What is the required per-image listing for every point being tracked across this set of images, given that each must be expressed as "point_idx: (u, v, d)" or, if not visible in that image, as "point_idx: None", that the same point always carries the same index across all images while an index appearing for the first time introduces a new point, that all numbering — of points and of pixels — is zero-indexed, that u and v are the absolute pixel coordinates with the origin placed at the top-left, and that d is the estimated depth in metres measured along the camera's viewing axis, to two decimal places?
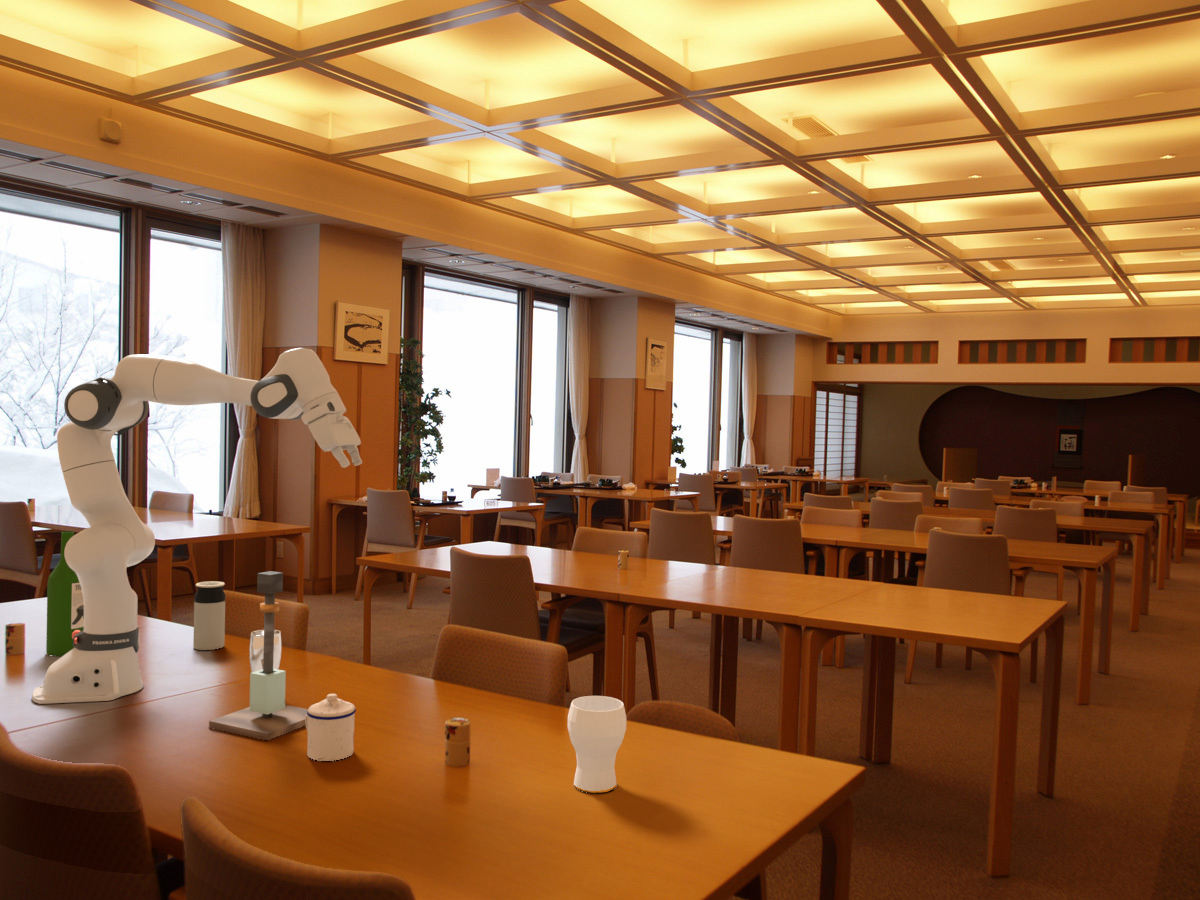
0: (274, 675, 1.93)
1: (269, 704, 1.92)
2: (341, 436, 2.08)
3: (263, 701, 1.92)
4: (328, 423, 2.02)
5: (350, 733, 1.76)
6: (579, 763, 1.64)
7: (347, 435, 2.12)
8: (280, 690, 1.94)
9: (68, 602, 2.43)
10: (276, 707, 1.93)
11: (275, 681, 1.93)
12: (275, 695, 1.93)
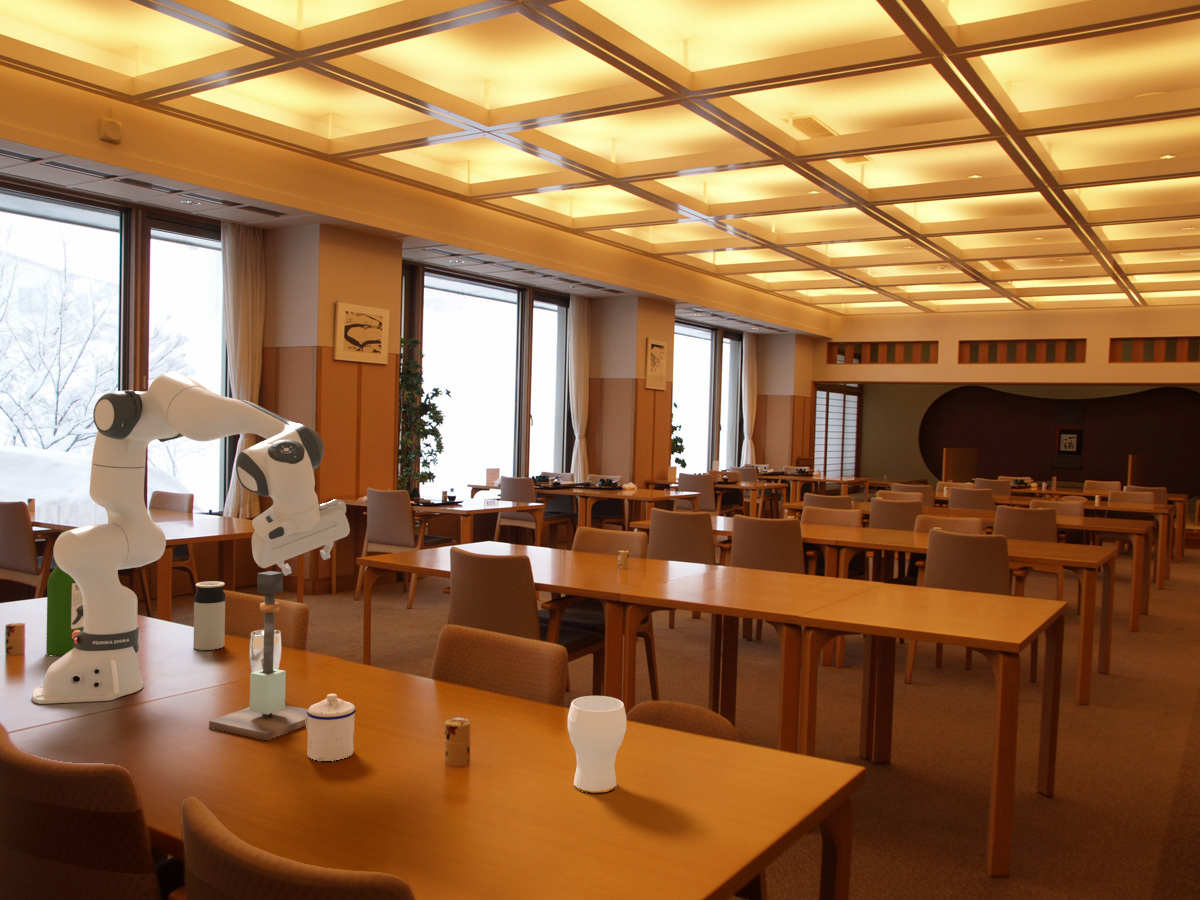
0: (274, 675, 1.93)
1: (269, 704, 1.92)
2: (289, 551, 1.91)
3: (263, 701, 1.92)
4: (259, 551, 1.86)
5: (350, 733, 1.76)
6: (579, 763, 1.64)
7: (308, 543, 1.93)
8: (280, 690, 1.94)
9: (68, 602, 2.43)
10: (276, 707, 1.93)
11: (275, 681, 1.93)
12: (275, 695, 1.93)
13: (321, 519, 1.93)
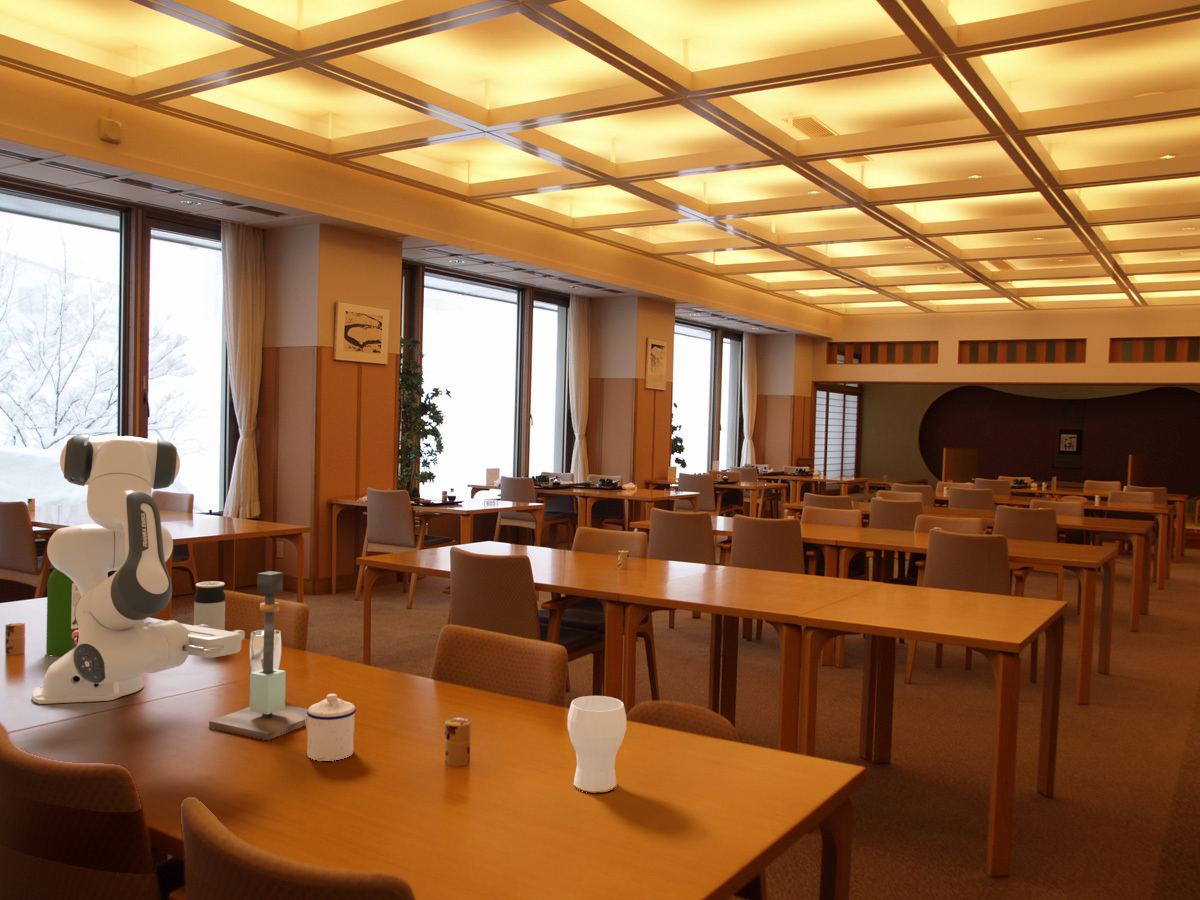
0: (274, 675, 1.93)
1: (269, 704, 1.92)
2: None
3: (263, 701, 1.92)
4: None
5: (350, 733, 1.76)
6: (579, 763, 1.64)
7: None
8: (280, 690, 1.94)
9: (68, 602, 2.43)
10: (276, 707, 1.93)
11: (275, 681, 1.93)
12: (275, 695, 1.93)
13: (191, 654, 1.71)
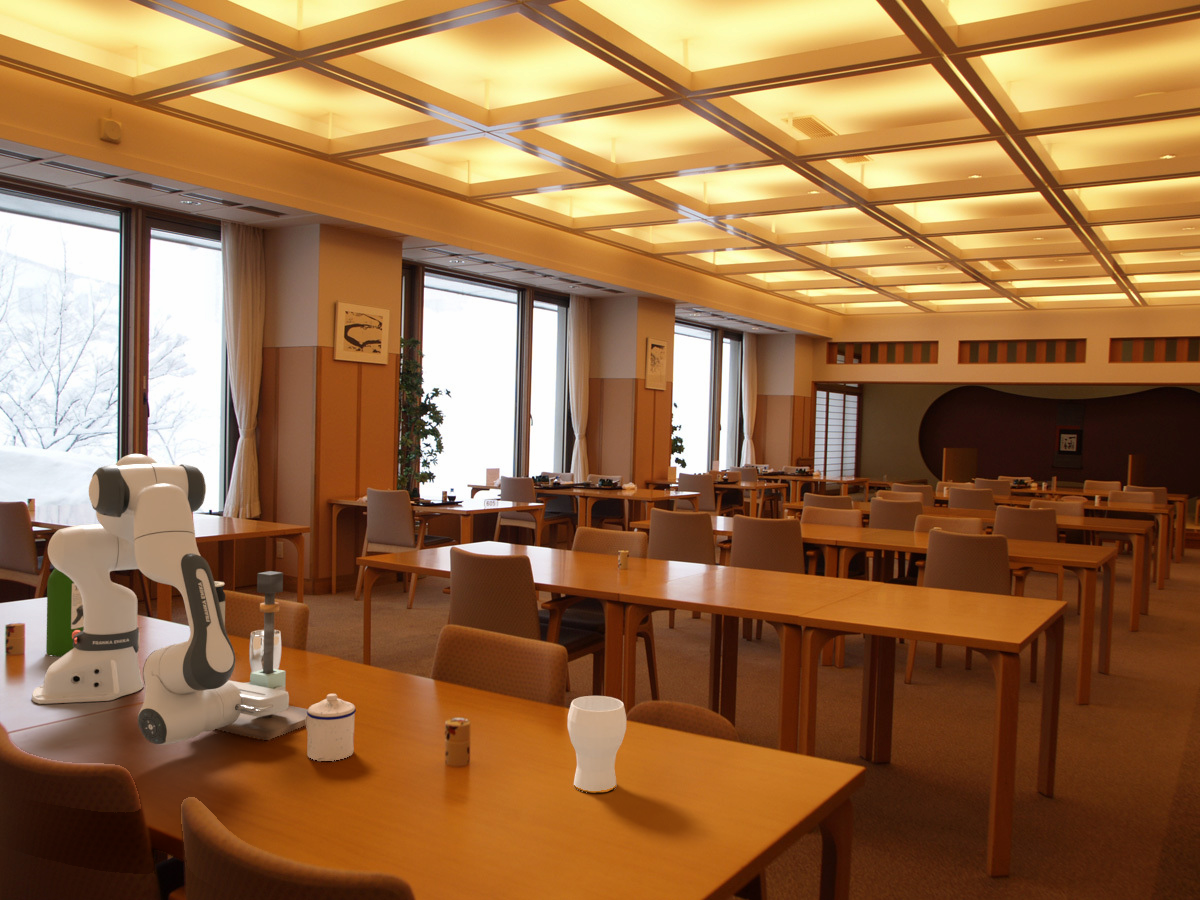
0: (274, 675, 1.93)
1: None
2: None
3: None
4: None
5: (350, 733, 1.76)
6: (579, 763, 1.64)
7: None
8: None
9: (68, 602, 2.43)
10: None
11: (275, 681, 1.93)
12: None
13: None
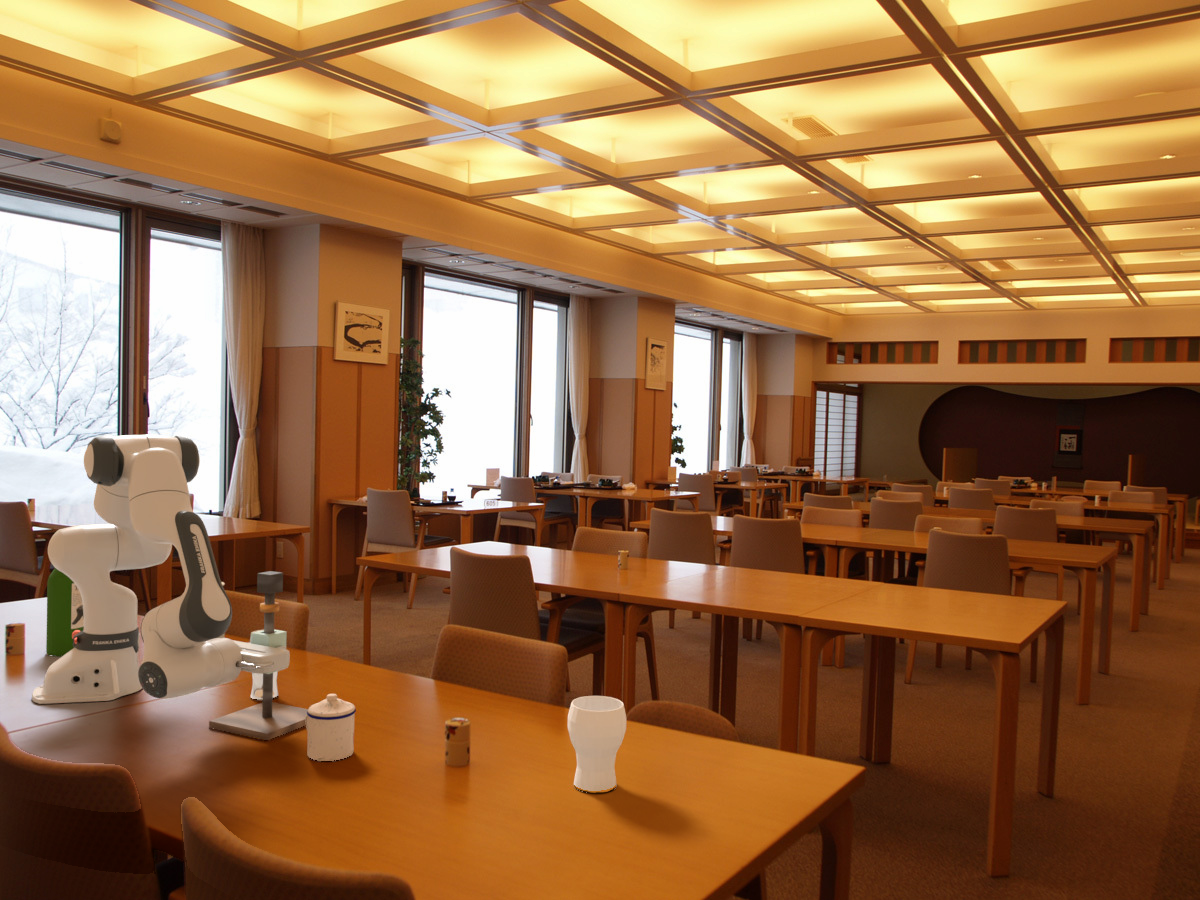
0: (275, 635, 1.92)
1: None
2: None
3: None
4: None
5: (350, 733, 1.76)
6: (579, 763, 1.64)
7: None
8: None
9: (68, 602, 2.43)
10: None
11: (276, 641, 1.93)
12: None
13: (243, 670, 1.83)
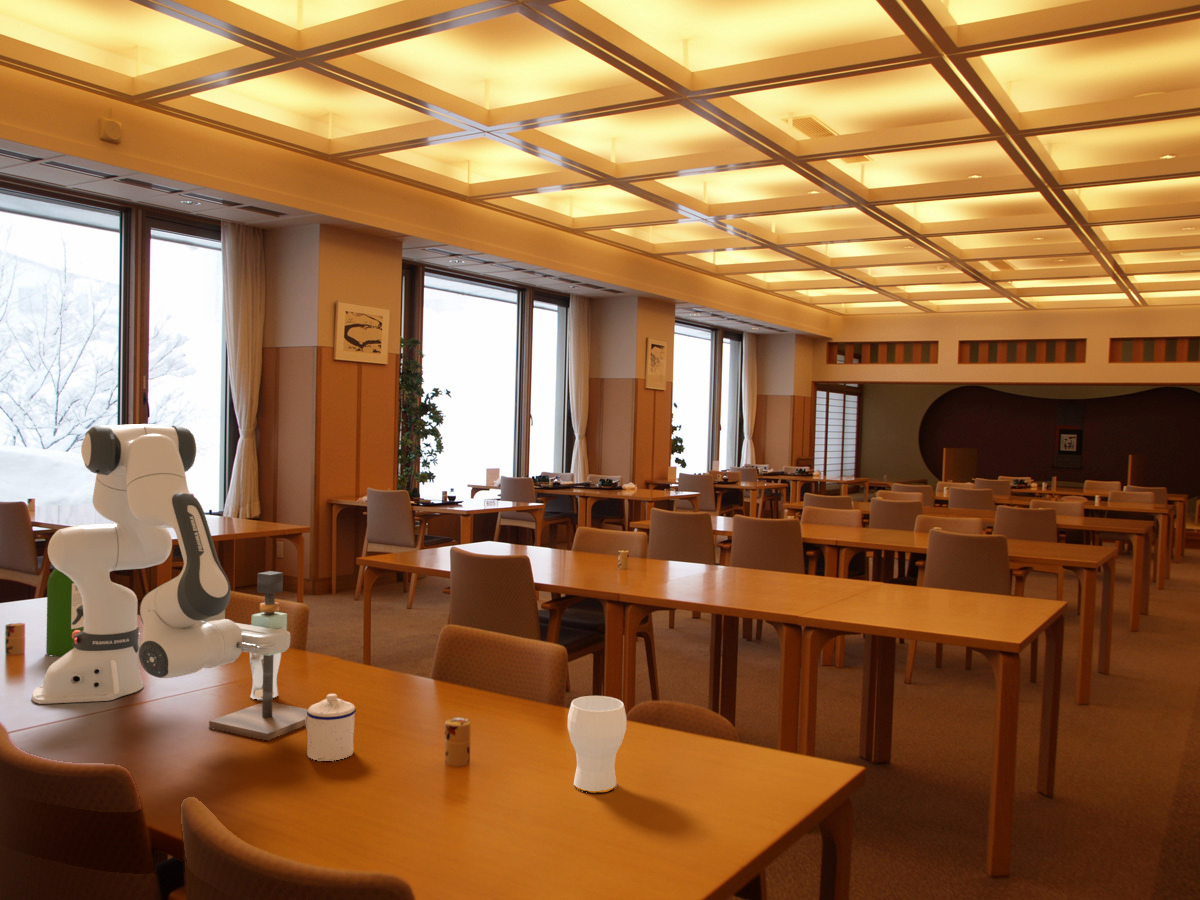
0: (275, 617, 1.92)
1: None
2: None
3: None
4: None
5: (350, 733, 1.76)
6: (579, 763, 1.64)
7: None
8: None
9: (68, 602, 2.43)
10: None
11: (276, 623, 1.93)
12: None
13: (244, 651, 1.83)
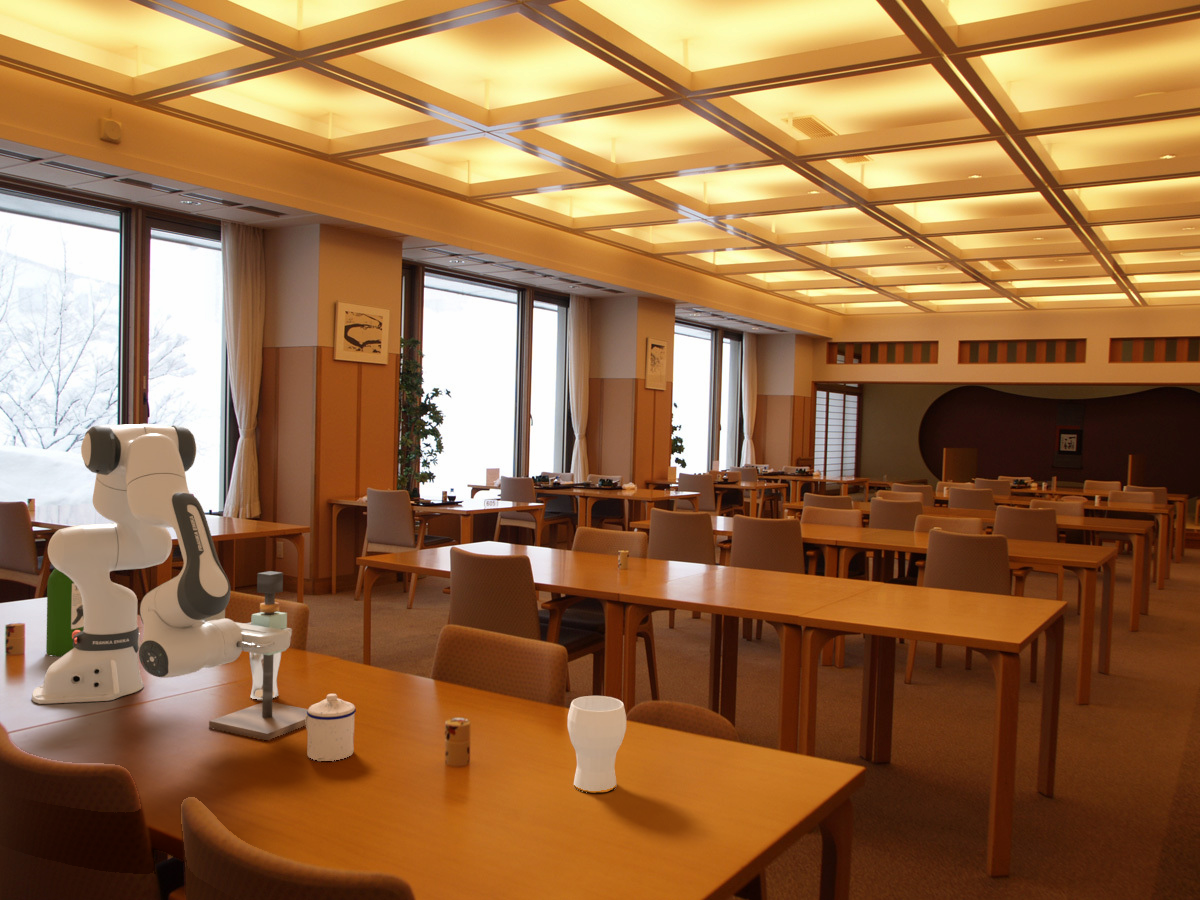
0: (275, 616, 1.92)
1: None
2: None
3: None
4: None
5: (350, 733, 1.76)
6: (579, 763, 1.64)
7: None
8: None
9: (68, 602, 2.43)
10: None
11: (276, 622, 1.93)
12: None
13: (244, 650, 1.83)
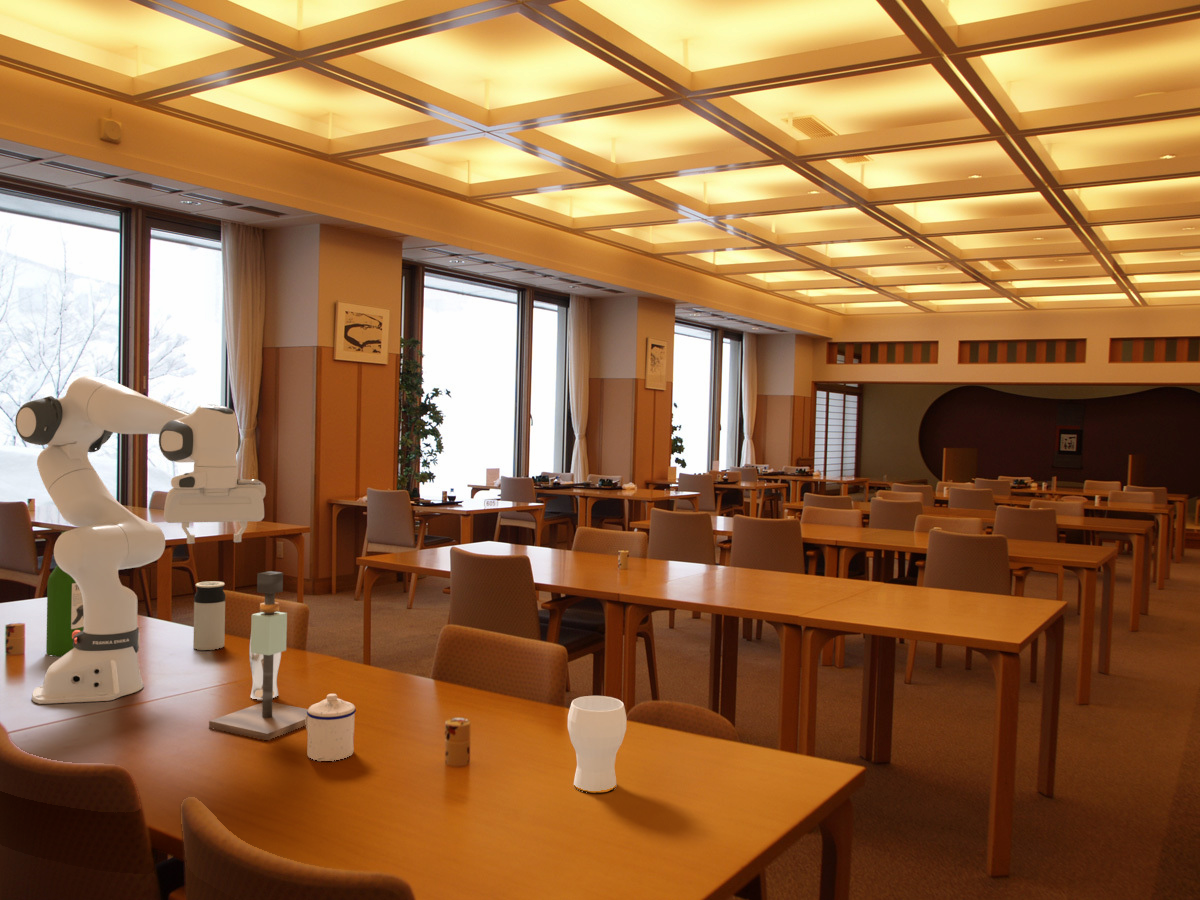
0: (275, 616, 1.92)
1: (270, 645, 1.91)
2: (198, 513, 1.97)
3: (264, 642, 1.91)
4: (167, 499, 1.94)
5: (350, 733, 1.76)
6: (579, 763, 1.64)
7: (219, 512, 1.99)
8: (281, 632, 1.94)
9: (68, 602, 2.43)
10: (277, 649, 1.93)
11: (276, 622, 1.93)
12: (276, 636, 1.93)
13: (236, 490, 2.01)
